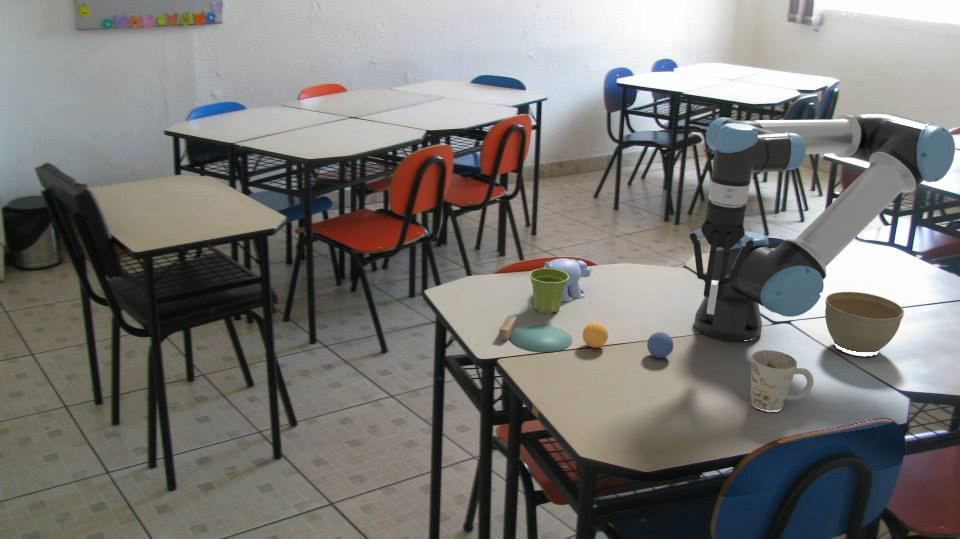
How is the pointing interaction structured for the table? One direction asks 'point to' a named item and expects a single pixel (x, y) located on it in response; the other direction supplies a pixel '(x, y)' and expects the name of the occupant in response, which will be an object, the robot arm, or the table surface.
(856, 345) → the planter bowl
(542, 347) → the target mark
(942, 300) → the table surface
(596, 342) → the orange ball
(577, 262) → the hippopotamus toy
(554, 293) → the plant pot
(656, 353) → the blue ball
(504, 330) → the rail
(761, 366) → the mug
